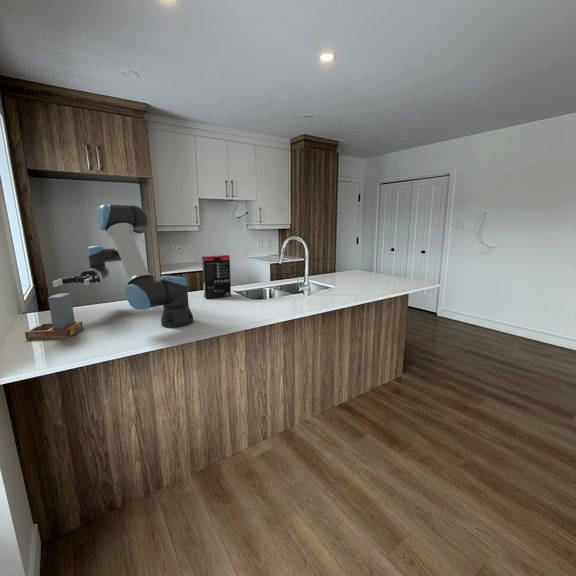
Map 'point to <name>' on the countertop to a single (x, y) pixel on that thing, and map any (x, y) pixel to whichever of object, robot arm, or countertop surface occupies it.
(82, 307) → the countertop surface
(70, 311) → the block
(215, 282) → the graphics card box
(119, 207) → the robot arm
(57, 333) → the divided wooden tray
